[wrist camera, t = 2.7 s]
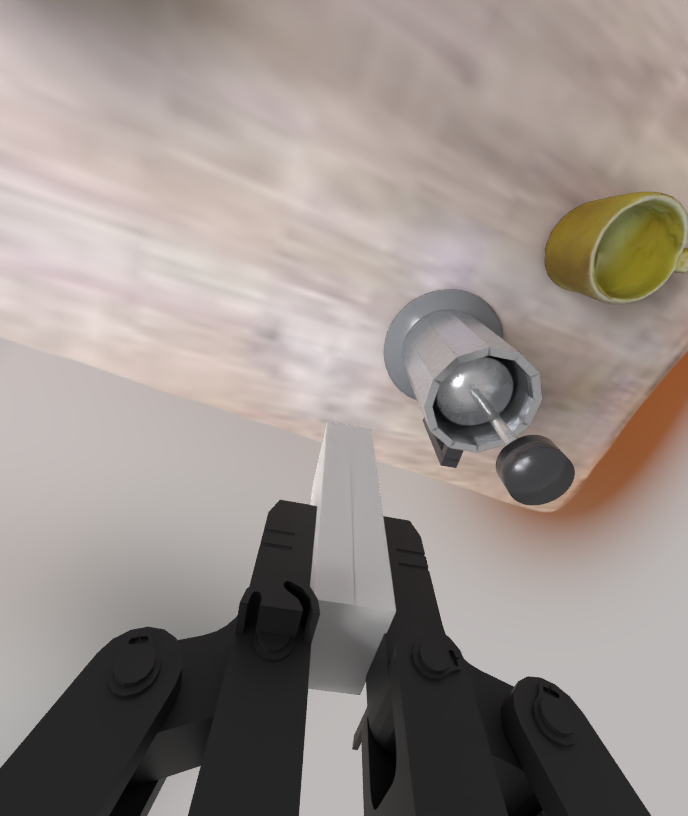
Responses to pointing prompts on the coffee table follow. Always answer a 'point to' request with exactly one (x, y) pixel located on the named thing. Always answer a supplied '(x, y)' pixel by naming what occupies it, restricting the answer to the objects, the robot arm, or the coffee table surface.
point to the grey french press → (440, 355)
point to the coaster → (422, 308)
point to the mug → (619, 247)
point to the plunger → (505, 431)
